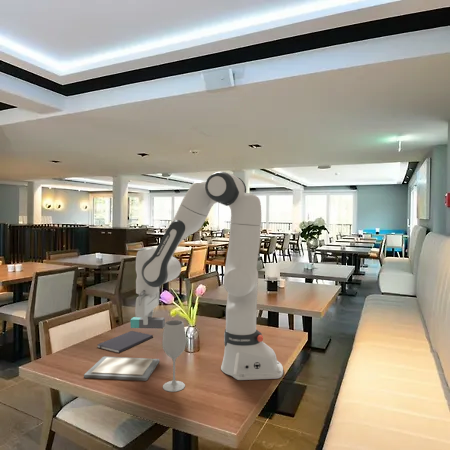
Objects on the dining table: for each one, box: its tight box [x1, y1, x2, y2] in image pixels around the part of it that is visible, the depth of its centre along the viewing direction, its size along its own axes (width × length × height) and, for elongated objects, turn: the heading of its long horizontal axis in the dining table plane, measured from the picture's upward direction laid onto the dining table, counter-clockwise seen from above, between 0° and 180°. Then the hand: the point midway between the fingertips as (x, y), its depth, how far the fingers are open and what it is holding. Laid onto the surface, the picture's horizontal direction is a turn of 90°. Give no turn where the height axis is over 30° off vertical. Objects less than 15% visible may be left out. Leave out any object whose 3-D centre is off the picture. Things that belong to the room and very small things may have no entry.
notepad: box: [83, 356, 160, 382], centre depth 132 cm, size 22×16×1 cm
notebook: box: [97, 330, 154, 354], centre depth 160 cm, size 13×2×21 cm
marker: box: [129, 316, 166, 330], centre depth 147 cm, size 13×3×3 cm, turn 85°
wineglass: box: [161, 319, 187, 393], centre depth 119 cm, size 8×8×21 cm
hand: (147, 322), depth 147 cm, fingers closed on marker, 3 cm apart
